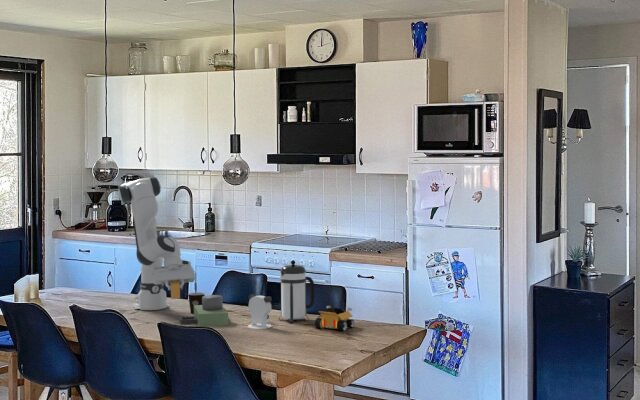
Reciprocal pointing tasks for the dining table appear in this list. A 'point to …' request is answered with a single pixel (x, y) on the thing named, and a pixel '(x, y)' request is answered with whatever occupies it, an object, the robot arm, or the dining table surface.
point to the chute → (175, 289)
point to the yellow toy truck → (334, 319)
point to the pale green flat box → (208, 312)
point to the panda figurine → (259, 311)
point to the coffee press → (295, 292)
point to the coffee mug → (195, 300)
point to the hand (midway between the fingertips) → (175, 289)
